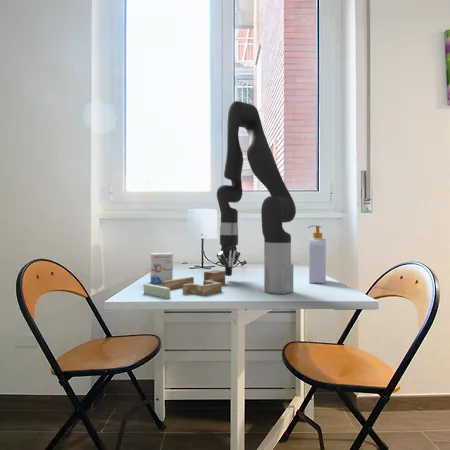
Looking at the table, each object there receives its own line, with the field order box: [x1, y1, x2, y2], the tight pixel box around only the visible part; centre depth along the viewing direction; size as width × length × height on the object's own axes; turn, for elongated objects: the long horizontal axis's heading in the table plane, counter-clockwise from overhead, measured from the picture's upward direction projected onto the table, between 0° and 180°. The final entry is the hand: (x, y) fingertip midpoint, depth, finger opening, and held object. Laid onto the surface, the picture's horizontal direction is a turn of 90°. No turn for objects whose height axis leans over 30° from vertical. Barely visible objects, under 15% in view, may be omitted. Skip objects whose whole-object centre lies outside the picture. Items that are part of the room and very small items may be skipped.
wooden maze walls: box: [162, 276, 223, 296], centre depth 125 cm, size 18×14×3 cm
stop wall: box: [143, 283, 171, 299], centre depth 116 cm, size 12×2×3 cm, turn 49°
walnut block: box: [203, 269, 226, 285], centre depth 138 cm, size 5×7×5 cm
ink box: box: [150, 252, 174, 284], centre depth 142 cm, size 9×5×12 cm, turn 105°
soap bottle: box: [307, 225, 327, 285], centre depth 143 cm, size 9×7×23 cm
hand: (228, 275), depth 145 cm, fingers closed
